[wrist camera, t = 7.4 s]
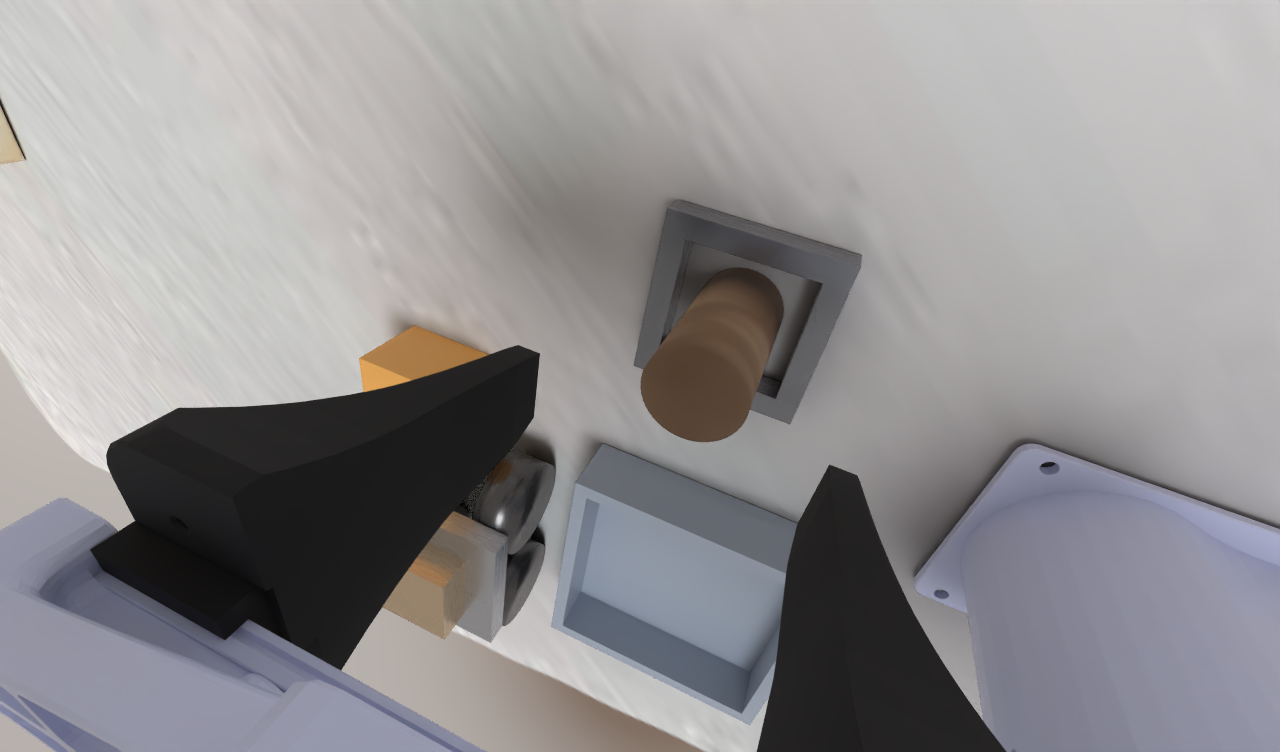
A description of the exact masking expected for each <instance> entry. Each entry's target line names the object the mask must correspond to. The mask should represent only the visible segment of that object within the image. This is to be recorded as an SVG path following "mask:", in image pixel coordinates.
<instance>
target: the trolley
mask: <svg viewBox="0 0 1280 752" xmlns="http://www.w3.org/2000/svg"><path fill="white" fill-rule="evenodd" d="M554 481H555V468H554V466H553V465H551V464H548V463H546V462H544V461H541V460H539V459H537V458H535V457H532V456H530V455H528V454H525V453H523V452H521V451H518V450H515V451H512V452H510V453H509V454H507V455H506V456H505V457H504V458H503V459H502V460H501V461H500V462H499V463H498V464H497V466H496V467H495V468H494V470H493V471H492V473H491V474H490V476H489V477H488V479H487V481H486V482H485V484H484V486H483V488H482V490H481V492H480V495H479V497H478V499H477V502H476V505H475V508H474V511H473V515H472V519H470V518H469V515H468V511H467V510H466V509H465V508H463V507H461V506H458V507H457V508H456V509H455V510H454V511H453V512H452V513H451V514H450V516H449V517H448V518H447V519H446V520H445V521H444V523H443V524H442V525H441V526H440V528H439V529H438V530H437V532H436V533H435V534H434V536H433V537H432V538H431V540H430V541H429V542H428V544H427V545H426V546H425V547H424V549H423V550H422V551H421V553H420V554H419V555H418V557H417V558H416V560H415V561H414V562H413V564H412V565H411V567H410V568H409V569H408V571H407V572H406V573H405V575H404V576H403V578H402V579H401V580H400V582H399V583H398V585H397V586H396V587H395V589H394V590H393V592H392V593H391V595H390V596H389V598H388V599H387V601H386V602H385V604H384V605H383V608H385V609H387V610H389V611H391V612H393V613H395V614H397V615H399V616H401V617H402V618H404V619H406V620H408V621H410V622H412V623H414V624H416V625H418V626H420V627H421V628H424V629H425V630H427V631H429V632H431V633H433V634H435V635H437V636H439V637H441V638H443V639H445V638H446V637H447V636H448V634H449V633H450V631H451V630H452V629H453V627H454V626H455V625H457V626H459V627H461V628H463V629H465V630H467V631H469V632H471V633H473V634H475V635H477V636H479V637H481V638H483V639H484V640H486V641H488V642H490V643H491V642H492V640H493V639H494V637H495V636H496V634H497V633H498V631H499V630H500V628H501V627H502V626H506V625H507V624H509V623H510V622H511V621H512V620H513V619H514V617H515V616H516V615H517V614H518V612H519V611H520V609H521V608H522V606H523V605H524V603H525V601H526V599H527V598H528V596H529V594H530V592H531V590H532V588H533V586H534V584H535V582H536V579H537V577H538V574H539V572H540V569H541V566H542V563H543V559H544V554H545V546H544V545H543V544H541V543H539V542H537V541H535V540H532V539H530V537H531V535H532V534H533V532H534V530H535V529H536V527H537V525H538V523H539V522H540V520H541V518H542V516H543V514H544V511H545V509H546V507H547V504H548V502H549V499H550V496H551V493H552V490H553V486H554Z"/></svg>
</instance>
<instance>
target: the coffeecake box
mask: <svg viewBox="0 0 1280 752" xmlns="http://www.w3.org/2000/svg"><path fill="white" fill-rule="evenodd" d="M22 160H24V156H23V154H22V152H21V150H20V148H19V146H18V144H17V142H16V140H15V137H14V135H13V133H12V131H11V128H10V126H9V124H8V122H7V119H6V117H5V115H4V113H3V111H2V108H1V106H0V164H5V163H11V162H17V161H22Z"/></svg>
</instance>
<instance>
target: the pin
mask: <svg viewBox="0 0 1280 752" xmlns="http://www.w3.org/2000/svg"><path fill="white" fill-rule="evenodd" d="M783 313H784V307H783V301H782V297H781V295H780V293H779V291H778V289H777V287H776V286H775V285H774V284H773V282H772V281H770V280H769V279H768V278H767V277H766V276H764V275H763V274H761V273H759V272H757V271H754V270H751V269H746V268H732V269H727V270H724V271H722V272H719V273H718V274H716V275H715V276H713V277H712V278H711V279H710V280H709V281H708V282H707V283H706V285H705V286H704V287H703V289H702V290H701V291H700V293H699V294H698V295H697V297H696V298H695V300H694V301H693V302H692V304H691V305H690V306H689V308H688V309H687V310H686V312H685V313H684V314H683V316H682V317H681V318H680V320H679V321H678V322H677V324H676V325H675V327H674V328H673V329H672V331H671V332H670V333H669V335H668V336H667V337H666V339H665V340H664V341H663V343H662V344H661V345H660V347H659V348H658V350H657V351H656V352H655V354H654V355H653V356H652V358H651V359H650V360H649V362H648V363H647V365H646V366H645V368H644V370H643V373H642V377H641V394H642V397H643V401H644V403H645V406H646V407H647V409H648V411H649V413H650V414H651V415H652V417H653V418H654V419H655V420H656V421H657V422H658V423H659V424H660V425H661V426H662V427H663V428H665V429H666V430H668V431H669V432H671V433H673V434H674V435H676V436H679V437H681V438H684V439H687V440H691V441H696V442H713V441H718V440H722V439H724V438H727V437H729V436H730V435H732V434H733V433H735V432H736V431H737V430H738V429H739V428H740V427H741V426H742V425H743V423H744V422H745V420H746V418H747V416H748V413H749V410H750V407H751V405H752V402H753V399H754V396H755V394H756V391H757V388H758V385H759V383H760V380H761V377H762V374H763V372H764V369H765V366H766V363H767V361H768V358H769V355H770V352H771V350H772V347H773V344H774V341H775V339H776V336H777V333H778V330H779V328H780V325H781V322H782V319H783Z"/></svg>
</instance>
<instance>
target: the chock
mask: <svg viewBox="0 0 1280 752" xmlns="http://www.w3.org/2000/svg"><path fill="white" fill-rule="evenodd" d="M487 355H489V354H486V353H483V352H481V351H478V350H476V349H473V348H471V347H468V346H466V345H463V344H460V343H458V342H455V341H453V340H450V339H448V338H445V337H443V336H440V335H437V334H435V333H432V332H430V331H427V330H425V329H422V328H420V327H417V326H415V325H414V326H413V327H411V328H409V329H408V330H406V331H404V332H403V333H401V334H399V335H398V336H396V337H394V338H393V339H391V340H389V341H388V342H386V343H384V344H382V345H381V346H379V347H377V348H376V349H374V350H372V351H371V352H369V353H367V354H366V355H364V356H362V357H361V358H359V360H360V368H361V376H362V383H363V391H364V392H366V391H371V390H376V389H381V388H385V387H389V386H393V385H397V384H401V383H404V382H408V381H411V380H414V379H418V378H421V377H424V376H428V375H431V374H434V373H438V372H441V371H444V370H447V369H450V368H453V367H456V366H459V365H462V364H464V363H467V362H470V361H473V360H476V359H479V358H482V357H484V356H487Z"/></svg>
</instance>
